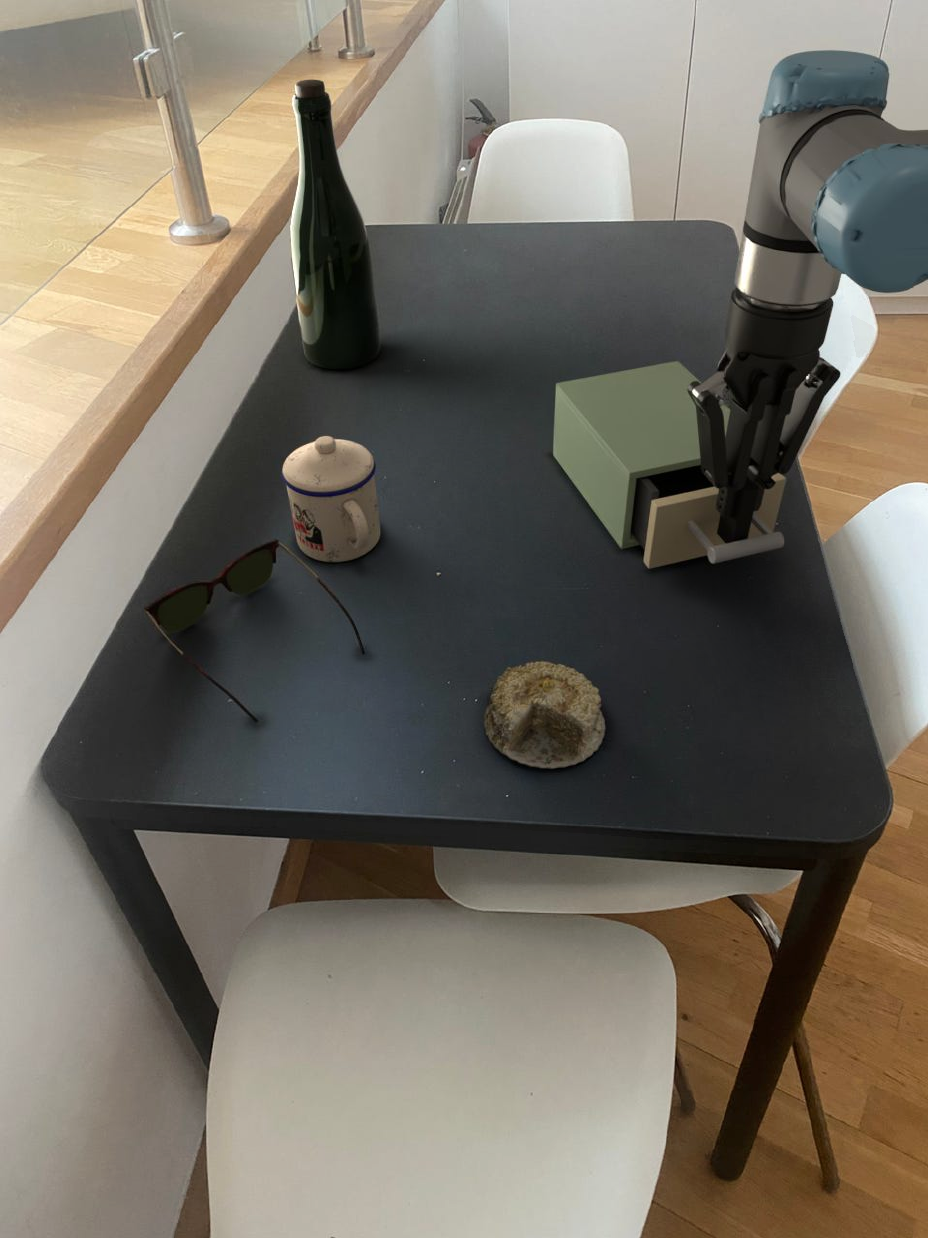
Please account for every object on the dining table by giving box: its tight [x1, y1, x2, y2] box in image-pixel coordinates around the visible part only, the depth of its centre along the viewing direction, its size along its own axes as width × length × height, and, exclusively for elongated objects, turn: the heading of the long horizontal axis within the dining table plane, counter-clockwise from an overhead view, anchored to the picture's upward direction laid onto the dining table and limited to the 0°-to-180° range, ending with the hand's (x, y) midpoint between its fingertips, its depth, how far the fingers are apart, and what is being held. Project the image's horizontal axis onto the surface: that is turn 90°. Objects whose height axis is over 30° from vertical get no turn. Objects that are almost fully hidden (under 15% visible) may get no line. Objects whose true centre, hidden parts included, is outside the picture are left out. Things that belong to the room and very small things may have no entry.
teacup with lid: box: [281, 435, 381, 563], centre depth 90 cm, size 12×9×12 cm
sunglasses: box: [143, 538, 366, 723], centre depth 82 cm, size 14×15×5 cm
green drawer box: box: [552, 360, 730, 550], centre depth 97 cm, size 19×15×9 cm
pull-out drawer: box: [630, 465, 787, 570], centre depth 92 cm, size 23×13×7 cm, turn 18°
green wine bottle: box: [288, 79, 381, 370], centre depth 115 cm, size 10×10×33 cm
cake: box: [482, 660, 606, 770], centre depth 74 cm, size 10×10×5 cm
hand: (731, 539), depth 85 cm, fingers closed
